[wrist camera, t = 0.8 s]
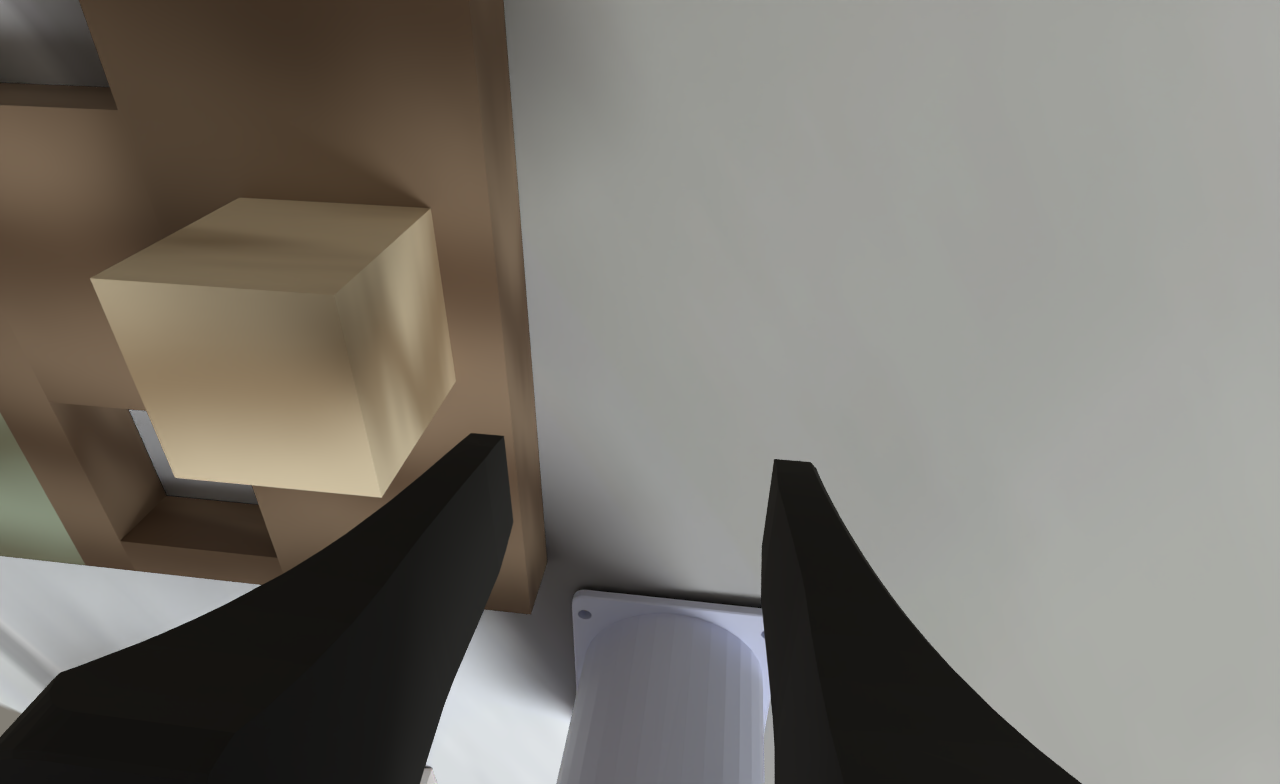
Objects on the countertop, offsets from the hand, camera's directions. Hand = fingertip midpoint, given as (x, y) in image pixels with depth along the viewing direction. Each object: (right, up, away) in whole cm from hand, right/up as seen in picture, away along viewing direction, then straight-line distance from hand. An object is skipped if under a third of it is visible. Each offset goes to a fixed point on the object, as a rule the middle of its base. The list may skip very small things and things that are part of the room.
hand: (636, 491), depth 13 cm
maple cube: (-8, +4, +7) cm, 11 cm away
